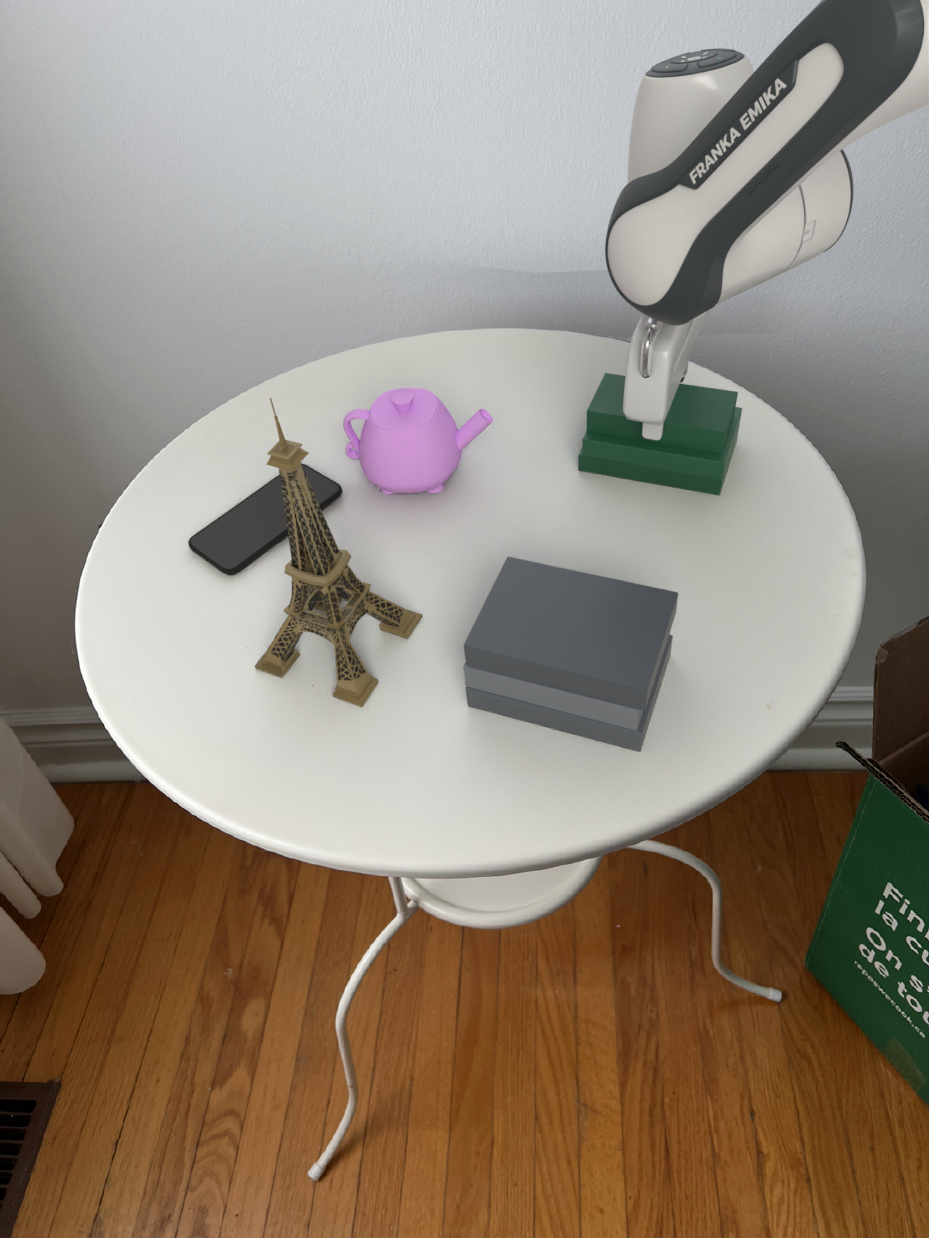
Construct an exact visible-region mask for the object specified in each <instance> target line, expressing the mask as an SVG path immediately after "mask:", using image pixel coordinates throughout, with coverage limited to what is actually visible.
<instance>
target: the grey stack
mask: <svg viewBox="0 0 929 1238" xmlns="http://www.w3.org/2000/svg"><path fill="white" fill-rule="evenodd" d="M678 600H679V592H678V591H674V590H669V589H664V588H659V587H654V586H650V585H645V584H639V583H635V582H630V581H627V580H626V581H625V580H621V579H616V578H611V577H607V576H602V575H597V574H593V573H588V572H584V571H579V570H575V569H574V570H573V569H569V568H565V567H560V566H555V565H550V564H545V563H541V562H536V561H531V560H527V559H522V558H517V557H512V556H507V557H506V559H505V561H504V563H503V565H502V567H501V569H500V571H499V573H498V575H497V577H496V579H495V581H494V583H493V585H492V586H491V589H490V590H489V593H488V594H487V597H486V599H485V600H484V603H483V606H482V607H481V609H480V611H479V613H478V615H477V617H476V619H475V621H474V623H473V625H472V627H471V629H470V632H469V633H468V635H467V637H466V639H465V641H464V643H463V651H464V652H463V653H464V659H465V660H464V661H465V662H464V664H463V667H462V668H463V674H464V681H465V693H466V700H467V701H466V702H467V706H468V707H469V708H473V709H477V710H481V711H485V712H488V713H492V714H495V715H500V716H503V717H507V718H510V719H515V720H518V721H521V722H525V723H529V724H533V725H537V726H540V727H543V728H544V727H545V728H548V729H552V730H554V731H560V732H564V733H566V734H571V735H574V736H578V737H582V738H584V739H585V738H586V739H589V740H593V741H597V742H601V743H605V744H608V745H612V746H616V747H619V748H623V749H627V750H630V751H633V752H638V753H640V752H642V748H643V745H644V741H645V739H646V735H647V733H648V729H649V725H650V722H651V719H652V716H653V712H654V710H655V706H656V703H657V700H658V696H659V693H660V690H661V687H662V683H663V680H664V677H665V674H666V671H667V667H668V665H669V661H670V657H671V654H672V647H673V637H674V636H673V634H670V633H671V630H672V627H673V624H674V621H675V618H676V614H677V607H678Z"/></svg>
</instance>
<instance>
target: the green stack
mask: <svg viewBox="0 0 929 1238" xmlns="http://www.w3.org/2000/svg"><path fill="white" fill-rule="evenodd" d="M742 412H743V407H739V406H736V407H735V413H734V417H733V420H732V423H731V426H730V429H729V432H728V435H727V438H726V441H725V445H724V448H723V451H722V454H720V453H714V452H708V451H701V450H695V449H689V448H683V447H677V446H671V445H665V444H658V443H652V442H646V441H640V440H634V439H628V438H622V437H616V436H609V435H603V434H597V433H591V432H586V431H585V432H584V435H583V437H582V442H581V445H582V446H581V448H580V451H579V453H578V456H577V457H578V458H577V459H578V461H577V467H578V468H577V470H578V471H580V472H585V473H589V474H590V473H591V474H596V475H602V476H607V477H612V478H613V477H614V478H618V479H624V480H631V481H635V482H641V483H647V484H651V485H658V486H663V487H664V486H665V487H669V488H674V489H675V488H676V489H681V490H687V491H693V492H697V493H705V494H710V495H715V496H720V495H721V493H722V490H723V486H724V483H725V480H726V477H727V475H728V474H727V473H728V471H729V467H730V464H731V461H732V458H733V454H734V451H735V449H736V448H735V447H736V444H737V441H738V436H739V431H740V424H741V418H742Z"/></svg>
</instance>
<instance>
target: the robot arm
mask: <svg viewBox="0 0 929 1238" xmlns="http://www.w3.org/2000/svg"><path fill="white" fill-rule="evenodd" d="M928 105H929V0H820V2H819V3H817V5H816V6H815V7H814V8H813V9H812V10H811V11H810V12H809V13H808V14H807V15H806V16H805V17H804V18H803V19H802V20H801V21H800V22H799V23H798V25H796V26H795V27H794V28H793V29H792V30H791V32H789V34H787V36H785V37H784V39H782V41H781V42H780V43H779V44H778V45H777V46H776V47H775V48H774V49H773V50H772V52H770V54H769V55H768V56H767V57H766V58H765V59H764V60H763V62H761V63H760V65H759V66H758V67H757V68H756V69H754V68H753V64H752V62H751V60H750V58H749V57H748V56H747V55H746V54H744V53H742V52H741V51H737V50H735V49H733V48H720V47H718V48H706V49H700V50H696V51H693V52H692V51H691V52H690V51H689V52H686V53H682V54H679V55H676V56H673V57H670V58H668V59H665V60H663V61H661V62H658V63H656V64H654V65H653V66H651V68H650V69H649V70H647V72H645V74H644V75H643V77H642V78H641V81H640V84H639V86H638V89H637V92H636V96H635V101H634V105H633V110H632V117H631V124H630V133H629V142H628V143H629V144H628V157H627V181H626V182H627V184H625V186H624V187H623V188H622V190H621V191H620V193H619V195H618V197H617V199H616V201H615V204H614V206H613V209H612V211H611V214H610V216H609V217H610V218H609V222H608V225H607V230H606V235H605V244H604V253H605V254H604V257H605V263H606V268H607V272H608V275H609V278H610V281H611V283H612V284H613V286H614V288H615V290H616V292H617V293H618V294H619V295H620V296H621V298H622V299H623V300H624V301H625V302H626V303H627V304H629V305H630V306H631V307H633V308H634V309H635V310H636V311H638V312H639V313H641V317H640V319H639V321H638V323H637V325H636V327H635V329H634V331H633V334H632V335H631V339H630V342H629V346H628V353H627V359H626V365H625V366H626V368H625V375H624V376H625V387H624V399H623V412H624V415H625V417H626V418H627V419H629V420H632V421H638V422H642V423H643V426H642V435H643V437H644V438H646V439H651V440H659V439H661V437H662V435H663V432H664V429H665V420H666V416H667V414H668V411H669V409H670V406H671V404H672V401H673V399H674V396H675V394H676V391H677V389H678V386H679V384H682V383H683V382H684V381H685V378H686V376H687V373H688V368H689V361H690V358H691V357H692V354H693V351H694V350H695V346H696V343H697V341H698V339H699V336H700V333H701V332H702V329H703V326H704V324H705V321H706V319H707V316H708V315H709V312H710V310H712V309H713V308H715V307H716V305H718V304H721V303H722V302H725V301H727V300H729V299H731V298H733V297H735V296H738V295H739V294H742V293H744V292H746V291H748V290H750V289H753V288H754V287H757V286H759V285H761V284H764V283H766V282H768V281H770V280H773V279H774V278H776V277H778V276H779V275H782V274H784V273H786V272H788V271H791V270H793V269H794V268H797V267H799V266H801V265H803V264H804V263H807V262H809V261H811V260H813V259H815V258H816V257H818V256H820V255H821V254H823V253H825V252H827V251H829V250H830V249H831V248H832V247H834V246H835V245H836V243H837V242H838V241H839V240H840V238H841V237H842V235H843V233H844V232H845V230H846V228H847V225H848V223H849V220H850V217H851V213H852V211H853V210H852V209H853V203H854V190H855V189H854V179H853V178H854V177H853V173H852V167H851V164H850V161H849V158H848V156H847V154H846V152H845V151H844V149H845V148H847V147H848V146H849V145H851V144H853V143H854V142H856V141H858V140H859V139H861V138H862V137H864V136H867V135H868V134H870V133H871V132H874V131H875V130H878V129H879V128H881V127H883V126H885V125H887V124H889V123H892V122H893V121H895V120H897V119H899V118H901V117H903V116H906V115H908V114H911V113H913V112H914V111H917V110H920V109H921V108H923V107H926V106H928Z"/></svg>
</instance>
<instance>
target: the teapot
mask: <svg viewBox="0 0 929 1238" xmlns="http://www.w3.org/2000/svg"><path fill="white" fill-rule="evenodd" d="M353 420H364V422H363V425H362V429H361V432H360V437H359V436H358V435H357V434H356V431H355V430H354V428H353V426H352V423H351V421H353ZM492 423H494V418H493V415H491V413H490V412H489V411H488V410H487V409H485V408H480V409H478V410H477V411H476V412H475V413H474V414H473V415H472V416H471V417H470V418H469V419H468V420H467V421H466V422H465V423H464V424H463V425H461V427H460V428H458V426H457V424H456V422H455V419H454V418H453V416H452V414H451V412H450V411H449V410H448V408H447V407H446V406H445V404H444V403H443V401H442V400H440V398H439V397H438V396H437V395H436V394H435V393H434V392H432V391H431V390H428V389H425V388H420V387H402V388H394V389H390V390H387V391H384V392H383V393H381V394H380V395H379V396H377V398H375V400H374V401H373V402H372V404H371V406H370V408H369V410H368V409H365V408H355V409H353V410H350V411H349V412H348V413H346V415H345V416H344V417H343V421H342V427H343V430H344V433H345V435H346V437H347V439H348V440H349V442H348V443H347V444H346V446H345V450H344V451H345V455H346V457H348V459H351V460H354V461H357V460H359V463H360V467H361V470H362V472H363V474H364V476H365V478H366V479H367V480H368V481H369V482H370V483H371V484H373V485H375V486H376V487H377V488H379V489H380V493H382V494H384V495H393V494H395V493H398V494H415V493H416V494H417V493H422V492H428V493H429V494H437V493H440V492H442V491H443V490H444V487H445V485H444V484H445V483H446V482H447V481H448V480H449V478H451V476H453V474H454V472H455V470H456V469H457V468H458V465H459V464H460V461H461V458H462V454H463V450H464V449H465V448H466V447H467V446H468V445H469V444H470V443H472V441H474V440H475V438H477V437H478V436H479V435H480V434H481V433H482V432H484V430H486V429H487V428H488V427H489V426H490V425H491V424H492Z"/></svg>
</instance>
